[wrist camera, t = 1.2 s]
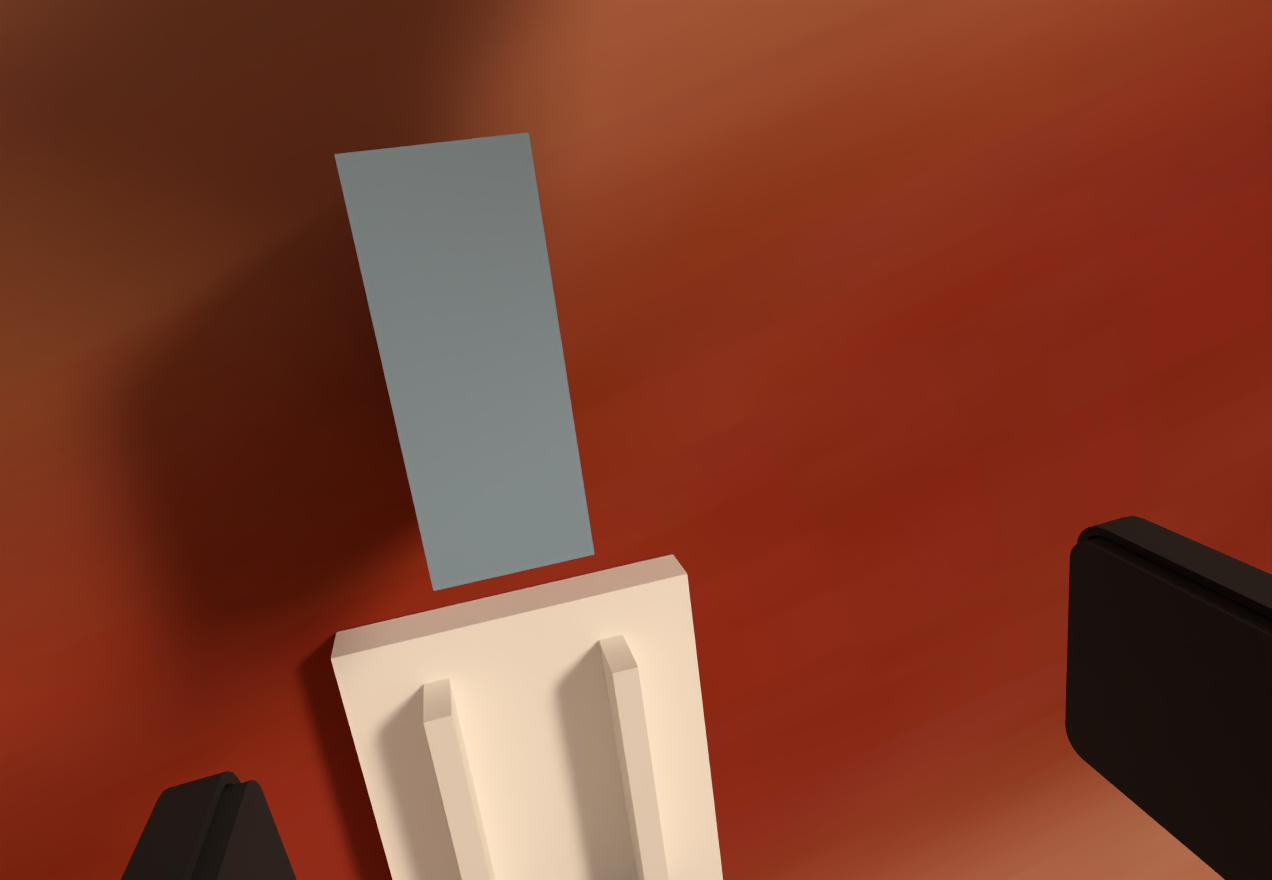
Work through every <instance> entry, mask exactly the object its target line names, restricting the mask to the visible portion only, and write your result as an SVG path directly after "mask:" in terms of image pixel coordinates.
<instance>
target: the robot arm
mask: <svg viewBox="0 0 1272 880" xmlns="http://www.w3.org/2000/svg"><path fill="white" fill-rule="evenodd" d="M1065 726H1066V733H1067V736H1068V739H1069V741H1070V743H1071V745H1072V747H1073V748H1074V750H1075V751H1076V752H1077V754H1078V755H1079V756H1080V757H1081V758H1082V759H1083V760H1084V761H1085V762H1087V763H1088V764H1089V765H1090V766H1091V767H1093V768H1094V769H1095V770H1096V771H1097V772H1098V773H1100V774H1101V775H1102V776H1103V777H1104V778H1106V779H1107V780H1108V781H1109V782H1110V783H1111V784H1113V785H1114V786H1115V787H1116V788H1117V789H1119V790H1120V791H1121V792H1122V793H1123V794H1124V795H1126V796H1127V797H1128V798H1129V799H1130V800H1132V801H1133V802H1134V803H1135V804H1136V805H1137V806H1139V807H1140V808H1141V809H1142V810H1143V811H1145V812H1146V813H1147V814H1148V815H1149V816H1150V817H1152V818H1153V819H1154V820H1155V821H1156V822H1158V823H1159V824H1160V825H1161V826H1162V827H1163V828H1165V829H1166V830H1167V831H1168V832H1169V833H1171V834H1172V835H1173V836H1174V837H1175V838H1176V839H1178V840H1179V841H1180V842H1181V843H1182V844H1184V845H1185V846H1186V847H1187V848H1188V849H1189V850H1191V851H1192V852H1193V853H1194V854H1195V855H1197V856H1198V857H1199V858H1200V859H1201V860H1202V861H1204V862H1205V863H1206V864H1207V865H1208V866H1210V867H1211V868H1212V869H1213V870H1214V871H1215V872H1217V873H1218V874H1219V875H1220V876H1221V877H1223V878H1224V879H1225V880H1272V575H1271V574H1269V573H1266V572H1264V571H1262V570H1260V569H1257V568H1255V567H1253V566H1250V565H1248V564H1246V563H1244V562H1241V561H1239V560H1237V559H1234V558H1232V557H1230V556H1227V555H1225V554H1223V553H1221V552H1218V551H1216V550H1214V549H1211V548H1209V547H1207V546H1205V545H1202V544H1200V543H1198V542H1195V541H1193V540H1191V539H1189V538H1186V537H1184V536H1182V535H1179V534H1177V533H1175V532H1173V531H1170V530H1168V529H1166V528H1163V527H1161V526H1159V525H1157V524H1154V523H1152V522H1150V521H1147V520H1145V519H1143V518H1139V517H1135V516H1130V517H1123V518H1120V519H1116V520H1113V521H1109V522H1106V523H1102V524H1099V525H1095V526H1092V527H1088V528H1087V529H1085V530H1084V531H1082V532H1081V534H1080V536H1079V537H1078V541H1077V544H1076V545H1075V546H1074V547H1073V549H1072V550H1071V554H1070V573H1069V610H1068V646H1067V683H1066V719H1065ZM121 880H296V877H295V874H294V872H293V869H292V867H291V864H290V861H289V859H288V856H287V854H286V851H285V848H284V846H283V843H282V841H281V838H280V835H279V833H278V830H277V828H276V825H275V822H274V820H273V817H272V815H271V812H270V809H269V807H268V804H267V802H266V799H265V796H264V794H263V791H262V789H261V787H260V785H259V784H258V783H257V782H256V781H254V780H251V781H247V782H244V783H240V781H239V779H238V778H237V776H236V775H235V774H234V773H233V772H228V771H227V772H223V773H220V774H216V775H213V776H209V777H205V778H202V779H198V780H195V781H191V782H188V783H184V784H181V785H177V786H174V787H170V788H168V789H166V790H165V791H163V792H162V794H161V795H160V797H159V798H158V800H157V802H156V804H155V807H154V809H153V811H152V813H151V815H150V817H149V820H148V822H147V824H146V826H145V828H144V830H143V833H142V835H141V837H140V839H139V841H138V844H137V846H136V848H135V850H134V852H133V854H132V857H131V859H130V861H129V863H128V865H127V867H126V870H125V872H124V874H123V876H122V878H121Z"/></svg>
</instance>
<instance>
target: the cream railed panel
mask: <svg viewBox="0 0 1272 880" xmlns="http://www.w3.org/2000/svg"><path fill="white" fill-rule="evenodd" d="M331 662H332V665H333V669H334V672H335V676H336V679H337V683H338V687H339V690H340V694H341V697H342V701H343V704H344V708H345V712H346V715H347V719H348V722H349V726H350V729H351V733H352V737H353V740H354V744H355V747H356V751H357V754H358V758H359V762H360V765H361V769H362V772H363V776H364V779H365V783H366V787H367V790H368V794H369V797H370V801H371V804H372V808H373V812H374V815H375V819H376V822H377V826H378V829H379V833H380V836H381V840H382V844H383V847H384V851H385V854H386V858H387V861H388V865H389V869H390V872H391V876H392V879H393V880H723V876H722V867H721V859H720V850H719V842H718V833H717V825H716V816H715V808H714V799H713V791H712V782H711V774H710V765H709V757H708V748H707V740H706V731H705V723H704V714H703V705H702V697H701V688H700V680H699V671H698V663H697V654H696V646H695V637H694V629H693V620H692V612H691V603H690V595H689V586H688V578H687V573H686V572H685V570H684V569H683V568H682V566H681V565H680V564H679V562H678V561H677V559H676V558H675V557H674V555H673V554H672V555H667V556H663V557H659V558H655V559H650V560H646V561H642V562H637V563H633V564H629V565H624V566H620V567H616V568H611V569H607V570H603V571H598V572H594V573H590V574H585V575H581V576H577V577H573V578H568V579H564V580H560V581H555V582H551V583H547V584H542V585H538V586H534V587H529V588H525V589H521V590H516V591H512V592H508V593H504V594H499V595H495V596H491V597H486V598H482V599H478V600H473V601H469V602H465V603H460V604H456V605H452V606H447V607H443V608H439V609H435V610H430V611H426V612H422V613H417V614H413V615H409V616H404V617H400V618H396V619H391V620H387V621H383V622H378V623H374V624H370V625H365V626H361V627H357V628H353V629H348V630H344V631H340V632H336V637H335V641H334V646H333V650H332V655H331Z"/></svg>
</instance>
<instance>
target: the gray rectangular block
mask: <svg viewBox="0 0 1272 880" xmlns="http://www.w3.org/2000/svg"><path fill="white" fill-rule="evenodd" d="M334 155H335V160H336V164H337V169H338V173H339V177H340V182H341V186H342V191H343V195H344V199H345V204H346V208H347V212H348V217H349V221H350V226H351V230H352V234H353V239H354V243H355V248H356V252H357V256H358V261H359V265H360V270H361V274H362V278H363V283H364V287H365V292H366V296H367V300H368V305H369V309H370V314H371V318H372V322H373V327H374V331H375V335H376V340H377V344H378V349H379V353H380V357H381V362H382V366H383V371H384V375H385V379H386V384H387V388H388V393H389V397H390V401H391V406H392V410H393V415H394V419H395V423H396V428H397V432H398V437H399V441H400V445H401V450H402V454H403V459H404V463H405V467H406V472H407V476H408V480H409V485H410V489H411V494H412V498H413V502H414V507H415V511H416V516H417V520H418V524H419V529H420V533H421V538H422V542H423V546H424V551H425V555H426V560H427V564H428V568H429V573H430V577H431V582H432V586H433V590H434V591H436V590H440V589H444V588H449V587H453V586H458V585H462V584H466V583H471V582H475V581H480V580H484V579H488V578H493V577H497V576H502V575H506V574H510V573H515V572H519V571H524V570H528V569H532V568H537V567H541V566H546V565H550V564H554V563H559V562H563V561H568V560H572V559H576V558H581V557H585V556H590V555H594V549H593V542H592V536H591V529H590V523H589V517H588V510H587V504H586V497H585V491H584V484H583V478H582V472H581V465H580V459H579V452H578V446H577V440H576V433H575V427H574V420H573V414H572V407H571V401H570V395H569V388H568V382H567V375H566V369H565V362H564V356H563V350H562V343H561V337H560V330H559V324H558V317H557V311H556V305H555V298H554V292H553V285H552V279H551V273H550V266H549V260H548V253H547V247H546V240H545V234H544V228H543V221H542V215H541V208H540V202H539V195H538V189H537V183H536V176H535V170H534V163H533V157H532V151H531V144H530V138H529V132H528V133H519V134H510V135H501V136H492V137H483V138H474V139H465V140H456V141H447V142H439V143H430V144H421V145H412V146H403V147H394V148H385V149H376V150H367V151H358V152H349V153H341V154H334Z"/></svg>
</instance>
